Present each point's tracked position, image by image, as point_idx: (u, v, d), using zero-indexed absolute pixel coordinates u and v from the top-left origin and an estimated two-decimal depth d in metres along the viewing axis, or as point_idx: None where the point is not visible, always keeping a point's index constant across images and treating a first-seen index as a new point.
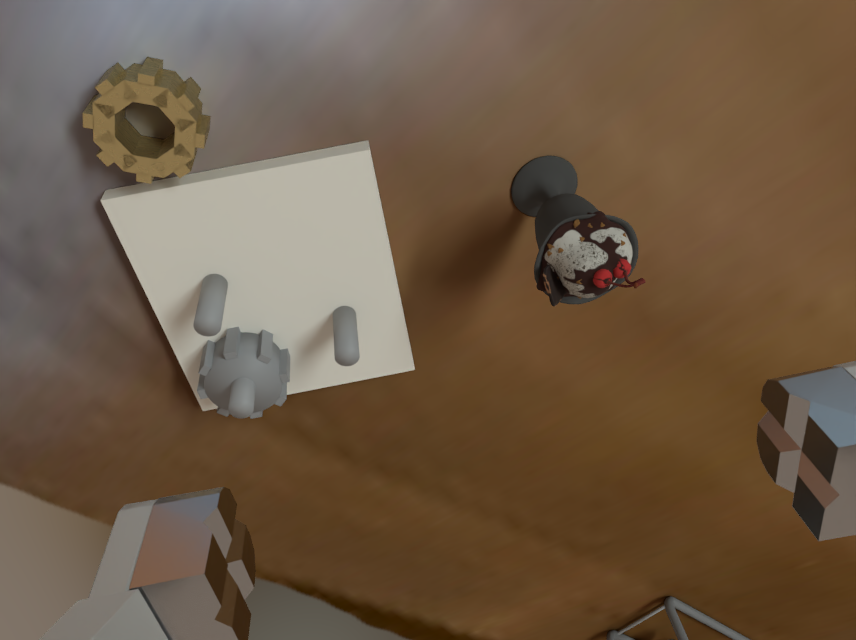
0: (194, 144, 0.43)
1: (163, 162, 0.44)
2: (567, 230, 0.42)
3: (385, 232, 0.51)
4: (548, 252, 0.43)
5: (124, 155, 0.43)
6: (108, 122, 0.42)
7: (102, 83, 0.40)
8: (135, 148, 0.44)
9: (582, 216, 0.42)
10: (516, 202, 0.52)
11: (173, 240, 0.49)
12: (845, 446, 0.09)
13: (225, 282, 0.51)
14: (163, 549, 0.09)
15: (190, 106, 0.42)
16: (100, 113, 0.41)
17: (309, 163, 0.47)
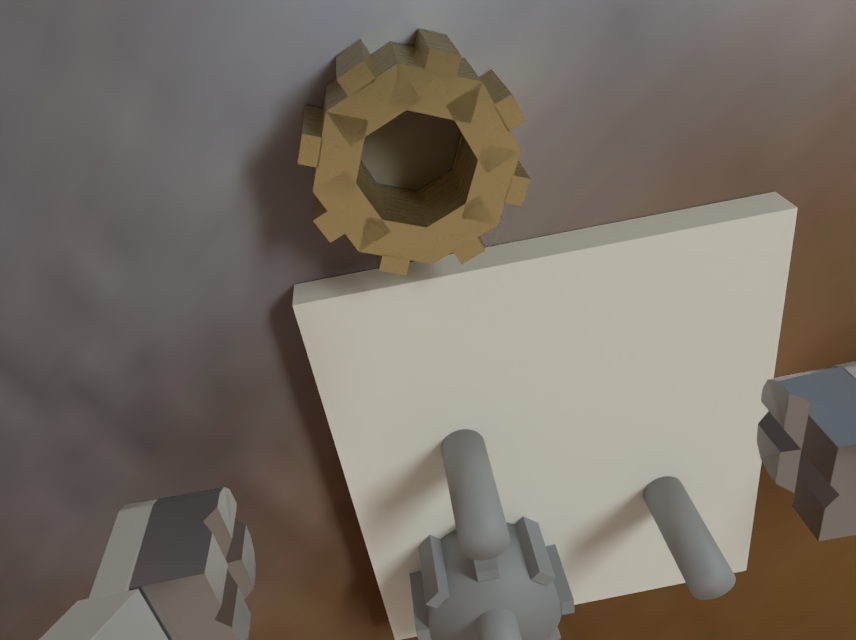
0: (505, 198, 0.22)
1: (438, 234, 0.22)
2: None
3: (774, 355, 0.28)
4: None
5: (367, 220, 0.21)
6: (349, 153, 0.20)
7: (353, 70, 0.19)
8: (380, 206, 0.22)
9: None
10: None
11: (408, 374, 0.27)
12: (845, 445, 0.09)
13: (484, 444, 0.28)
14: (163, 549, 0.09)
15: (517, 120, 0.20)
16: (337, 134, 0.20)
17: (683, 234, 0.25)
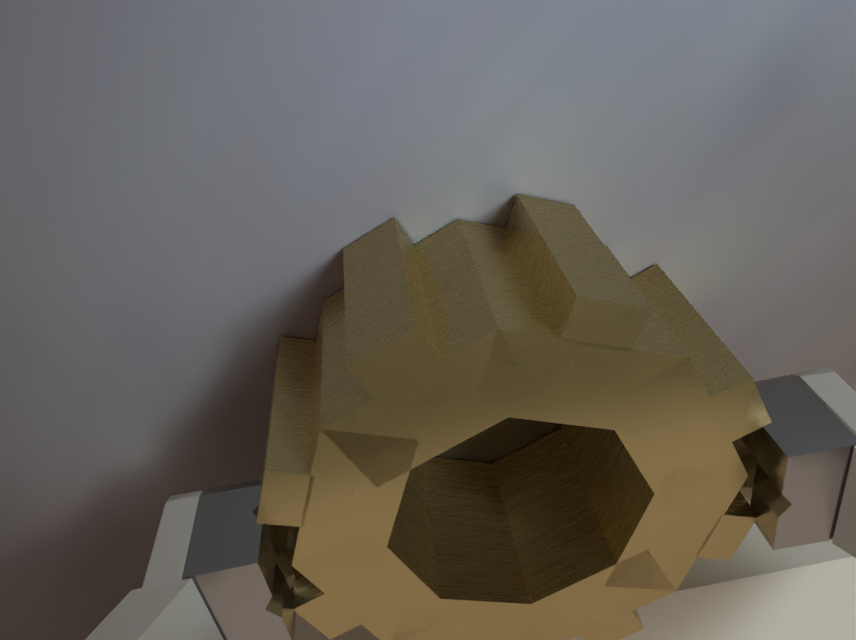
0: (700, 550, 0.10)
1: (554, 612, 0.11)
2: None
3: None
4: None
5: (408, 602, 0.10)
6: (374, 499, 0.09)
7: (388, 347, 0.08)
8: (433, 542, 0.11)
9: None
10: None
11: None
12: (795, 455, 0.09)
13: None
14: (214, 539, 0.09)
15: (753, 422, 0.09)
16: (347, 469, 0.09)
17: None
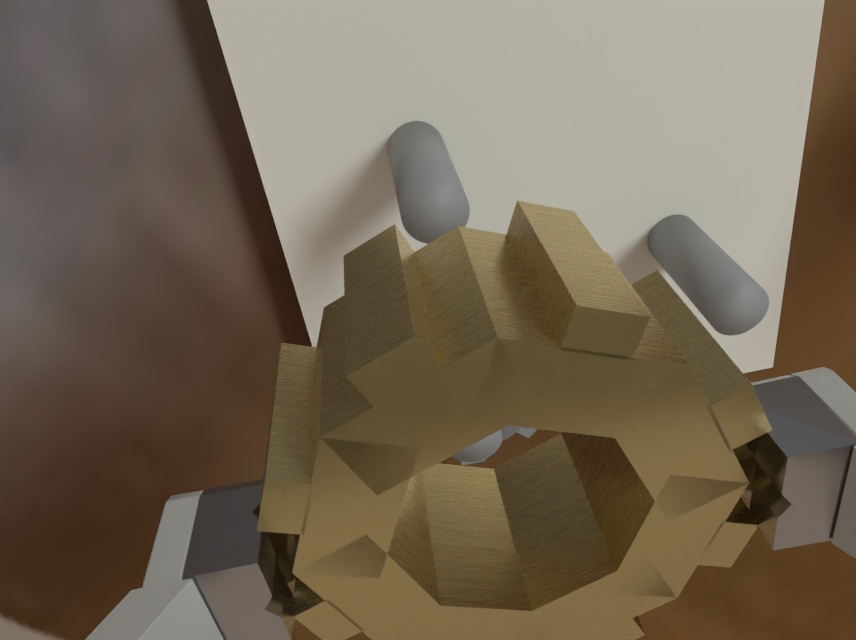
0: (701, 557, 0.10)
1: (555, 619, 0.11)
2: None
3: (818, 21, 0.22)
4: None
5: (409, 609, 0.10)
6: (374, 507, 0.09)
7: (388, 356, 0.08)
8: (433, 549, 0.11)
9: None
10: None
11: (338, 21, 0.20)
12: (795, 455, 0.09)
13: (443, 141, 0.22)
14: (214, 539, 0.09)
15: (753, 430, 0.09)
16: (347, 477, 0.09)
17: None
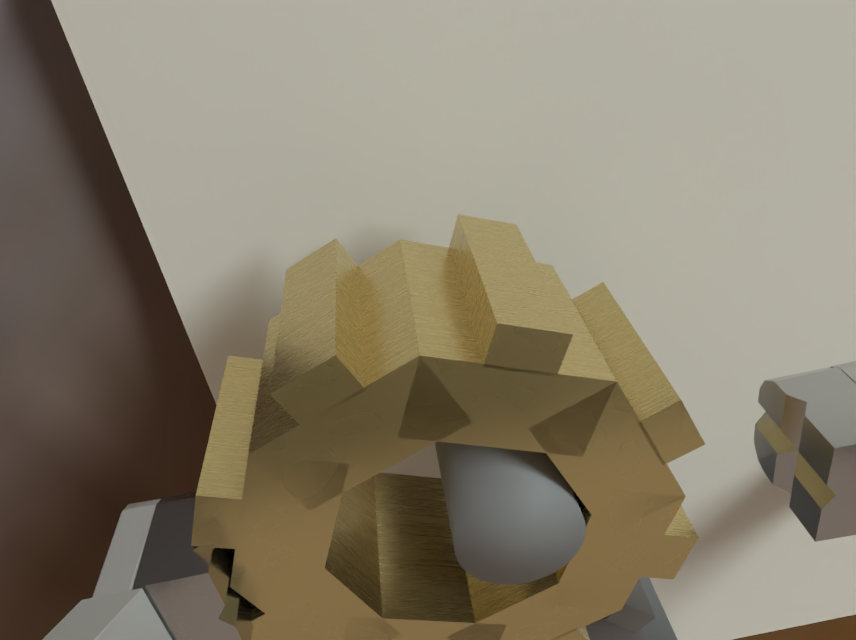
0: (642, 569, 0.10)
1: (500, 630, 0.11)
2: None
3: None
4: None
5: (351, 621, 0.10)
6: (308, 521, 0.09)
7: (310, 374, 0.08)
8: (380, 560, 0.11)
9: None
10: None
11: (336, 150, 0.12)
12: (842, 446, 0.09)
13: None
14: (167, 548, 0.09)
15: (686, 444, 0.09)
16: (278, 492, 0.09)
17: None
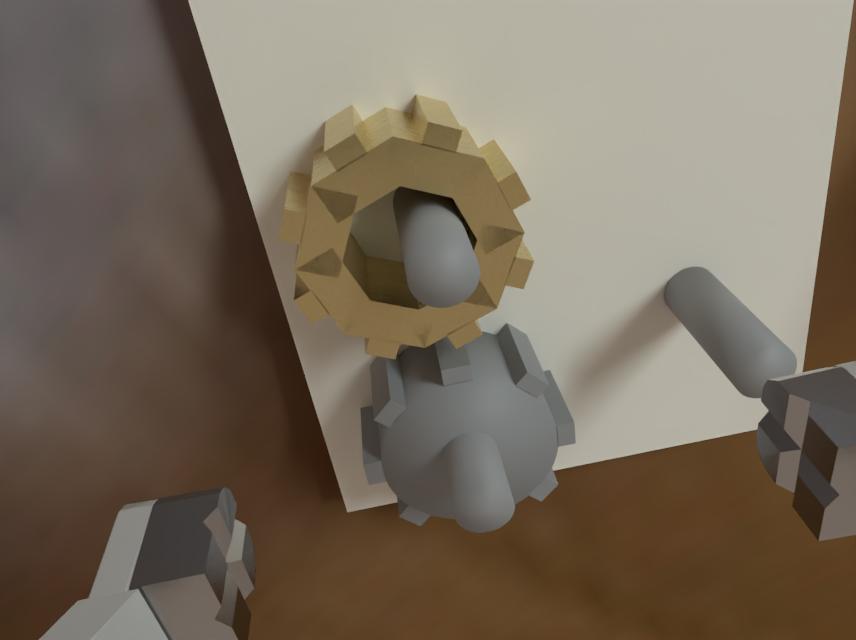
0: (506, 280, 0.20)
1: (432, 317, 0.20)
2: None
3: (841, 69, 0.21)
4: None
5: (353, 301, 0.20)
6: (336, 230, 0.18)
7: (343, 143, 0.17)
8: (369, 284, 0.21)
9: None
10: None
11: (341, 74, 0.19)
12: (845, 445, 0.09)
13: None
14: (163, 549, 0.09)
15: (521, 199, 0.19)
16: (323, 210, 0.18)
17: None
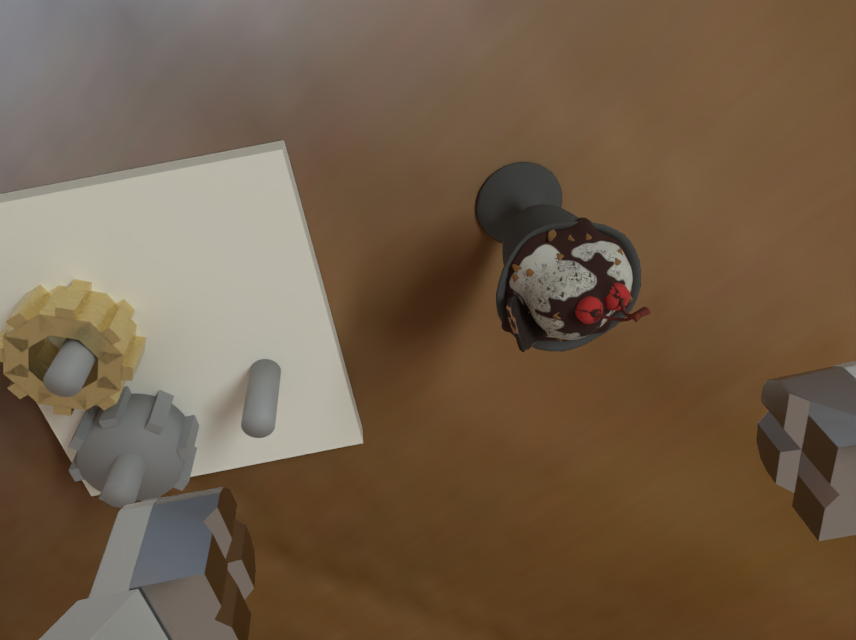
0: (121, 377, 0.38)
1: (85, 395, 0.38)
2: (538, 245, 0.30)
3: (311, 261, 0.39)
4: (514, 276, 0.31)
5: (39, 388, 0.38)
6: (21, 355, 0.37)
7: (14, 317, 0.35)
8: None
9: (559, 225, 0.30)
10: (484, 223, 0.40)
11: (31, 271, 0.37)
12: (845, 445, 0.09)
13: None
14: (163, 549, 0.09)
15: (116, 339, 0.37)
16: (11, 346, 0.36)
17: (203, 167, 0.36)
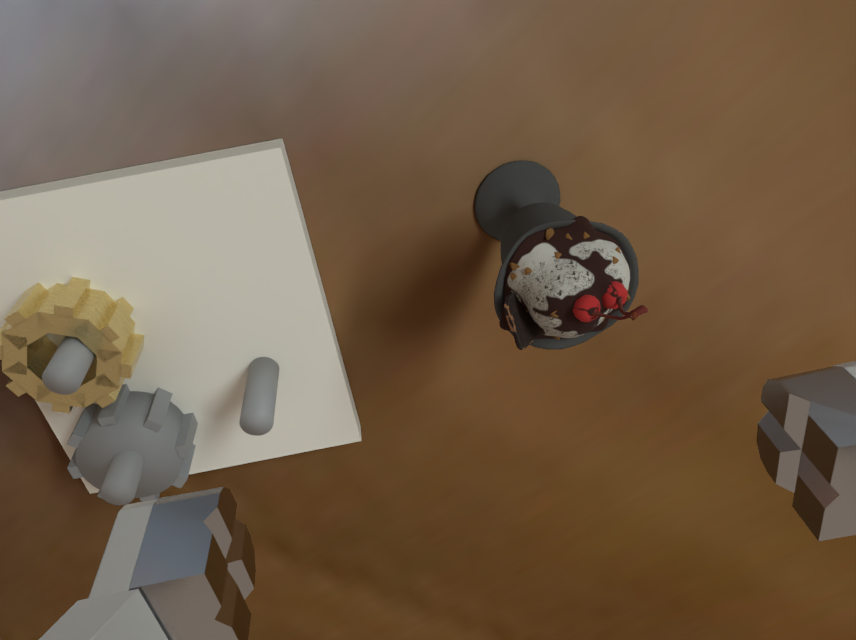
0: (119, 374, 0.38)
1: (83, 392, 0.38)
2: (536, 243, 0.30)
3: (309, 259, 0.39)
4: (512, 274, 0.31)
5: (38, 385, 0.38)
6: (19, 353, 0.37)
7: (12, 314, 0.35)
8: None
9: (557, 223, 0.30)
10: (482, 222, 0.40)
11: (29, 268, 0.37)
12: (846, 446, 0.09)
13: None
14: (163, 549, 0.09)
15: (114, 337, 0.37)
16: (10, 344, 0.36)
17: (201, 165, 0.36)
